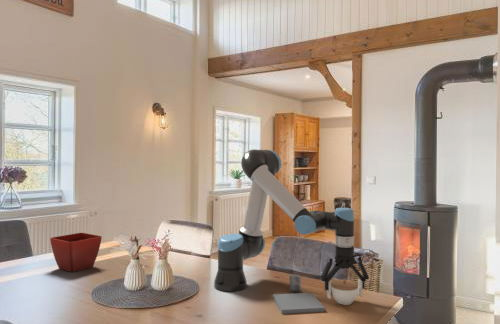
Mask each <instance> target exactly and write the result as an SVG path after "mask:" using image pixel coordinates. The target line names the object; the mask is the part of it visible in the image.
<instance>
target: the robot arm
mask: <svg viewBox="0 0 500 324" xmlns="http://www.w3.org/2000/svg"><path fill="white" fill-rule="evenodd" d="M240 166H241V168H242V171H243V173H244V174H245V176H246V177H247V178H248V179H249V180H250V181H251V186H250V192H249V196H248V202H247V206H246V211H245V217H244V221H243V226H240V228H239V231H238V233H230V234H228V233H226V234H224V235H222V236H220V237H219V238H218V241H217V272H216V275H215V278H214V283H213V284H214V285H213V287H214V289H216V290H217V291H222V292H237V291H242V290H244V289H246V288H247V286H248V285H247V284H248V283H247V281H248V280H247V278H246V275H245V271H244V261H245V260H248V259H252V258H255V257H257V256H258V255H261V253H263V251H264V249H265V246H266V242H265V239H264V232H263V231H262V223H263V221H264V214H265V209H266V204H267V199H268V196H269V198H271V200H273V202H275V204H276V205H277V206H278V207H279V208H280V209H281V210H282V211H283V212H284V213H285V214H286V215H287V216H288V217H289V218H290V220H292V221H293V223H294V224H293V225H294V229H295V231H296V232H297V233H298V234H299V235H304V236H305V235H310V234H313V233H316V232H319V231H322V230H328V231H329V230H330V231H334V232H335V240H334V242H335V247H334V248H335V249H334V252H335V254H334V257H330V256H328V257H327V263H326V264H325V266H324V269H323V270H322V273H321V274H320V277H319V279H320V280H321V282H324V281H325V289H326V290H327V292H326V297H327V298H328V299H329V300H330V299H331V298H332V294H331V283H330V282H329V281H330V280H331V279H333V277H334V276H335V275H336V274H337V272H338V271H339V270H340V269H342V270H343V269H351V270H352V271H353V272H354V273H355V275H356V276H357V277H358V279H357V284H358V290H357V296H358V297H360V298H363V289H364V288H365V282H366V280H369V278H370V277H369V275H368V273H367V271H366V268H365V266H364V265H363V264H364V263H363V259H362V257H361V256H359V255H356V256H355V247H354V245H355V216H354V215H355V212H354V209H352V208H349V207H337V208H335V210H334V212H333V211H326V210H325V211H323V210H311V211H310V210H308V208H307V207H305V206H304V205H303V203H301V202H300V200H298V199H297V197H295V196H294V195H293V193H292V192H290V190H288V188H287V187H285V185H284V184H283V183H282V182H280V181H279V179H278V178H276V177H275V175H276V174H277V173H278V172H280V170H281V168H282V161H281V157H280V155H279V154H278V153H277V152H276V151H274V150H270V149H249V150H248V151H246V152H245V153H244V154H243V156H242V157H241V165H240ZM355 262H356V263H357V266H358V268H359V270H360V271H361V272H360V271H359V270H358V269H357V267H356V266H355V265H354V263H355ZM334 263H335V264H334ZM333 264H334V265H333ZM332 266H333V267H332ZM331 268H332V269H331Z"/></svg>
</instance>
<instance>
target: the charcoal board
mask: <svg viewBox="0 0 500 324" xmlns="http://www.w3.org/2000/svg"><path fill="white" fill-rule="evenodd" d="M272 299H273V301H274V303H275V305H276V306H277V308H278V310H279V311H280V313H281V314H282V315H285V314H301V313H302V314H304V313H321V312H323V313H324V312H325V306H324V305H323V304H322V303H321V301H319V300H318V298H317V297H316V296H315V295H314V293H312V292H300V293H276V294H274V293H273V294H272Z"/></svg>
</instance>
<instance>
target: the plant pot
mask: <svg viewBox="0 0 500 324" xmlns="http://www.w3.org/2000/svg"><path fill="white" fill-rule="evenodd" d="M49 240H50V245H51V250H52V254H53V257H54V259H55V260H54V261H55V262H56V265H57V268H58V269H59V270H63V271H67V272H70V273H74V272H79V271H81V270H86V269H87V270H88V269H91V268H93V266H94V265H95V263H96V260H97V258H98V253H99V251H100V247H101V242H102V236H101V235H97V234H92V233H86V232H77V233H70V234H66V235H65V234H64V235H58V236H53V237H50V239H49Z"/></svg>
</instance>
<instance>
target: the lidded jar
mask: <svg viewBox="0 0 500 324" xmlns="http://www.w3.org/2000/svg"><path fill="white" fill-rule="evenodd" d="M331 286H332V294H331V296H333V299H334V300H335V301H336V302H337V304H339V305H345V306H349V305H351V304H353V302H354V301H356V299H357V296H358V282H356V281H352V280H348V279H345V278H344V279H338V280H334V281H332V282H331Z"/></svg>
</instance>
